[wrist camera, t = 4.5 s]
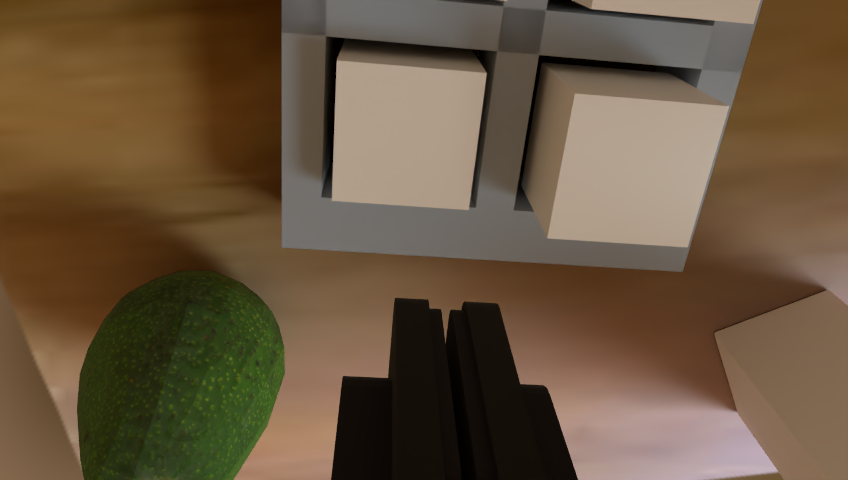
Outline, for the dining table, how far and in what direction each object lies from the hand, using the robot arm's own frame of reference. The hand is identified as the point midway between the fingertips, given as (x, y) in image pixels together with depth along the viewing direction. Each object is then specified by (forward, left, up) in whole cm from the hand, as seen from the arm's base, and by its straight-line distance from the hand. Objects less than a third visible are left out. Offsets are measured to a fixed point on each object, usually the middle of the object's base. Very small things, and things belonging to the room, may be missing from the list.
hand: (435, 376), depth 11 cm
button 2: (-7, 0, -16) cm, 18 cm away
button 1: (0, 0, -18) cm, 18 cm away
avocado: (+8, +11, -19) cm, 24 cm away
